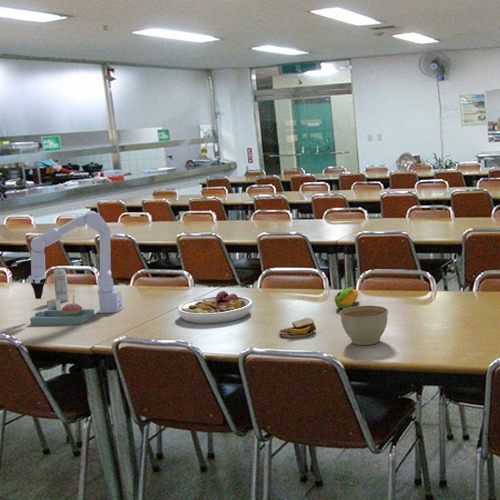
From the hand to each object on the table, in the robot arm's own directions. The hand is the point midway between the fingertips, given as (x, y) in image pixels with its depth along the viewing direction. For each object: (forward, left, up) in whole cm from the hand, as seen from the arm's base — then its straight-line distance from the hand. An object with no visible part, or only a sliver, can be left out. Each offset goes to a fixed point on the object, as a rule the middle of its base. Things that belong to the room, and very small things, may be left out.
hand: (38, 297), depth 334 cm
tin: (-2, -10, -10) cm, 14 cm away
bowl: (-78, 0, -11) cm, 78 cm away
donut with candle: (-16, +2, -10) cm, 19 cm away
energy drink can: (+6, -35, -10) cm, 37 cm away
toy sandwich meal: (-115, +29, -11) cm, 120 cm away
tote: (-11, +2, -10) cm, 15 cm away
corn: (-130, -11, -10) cm, 131 cm away
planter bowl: (-141, +41, -10) cm, 147 cm away
